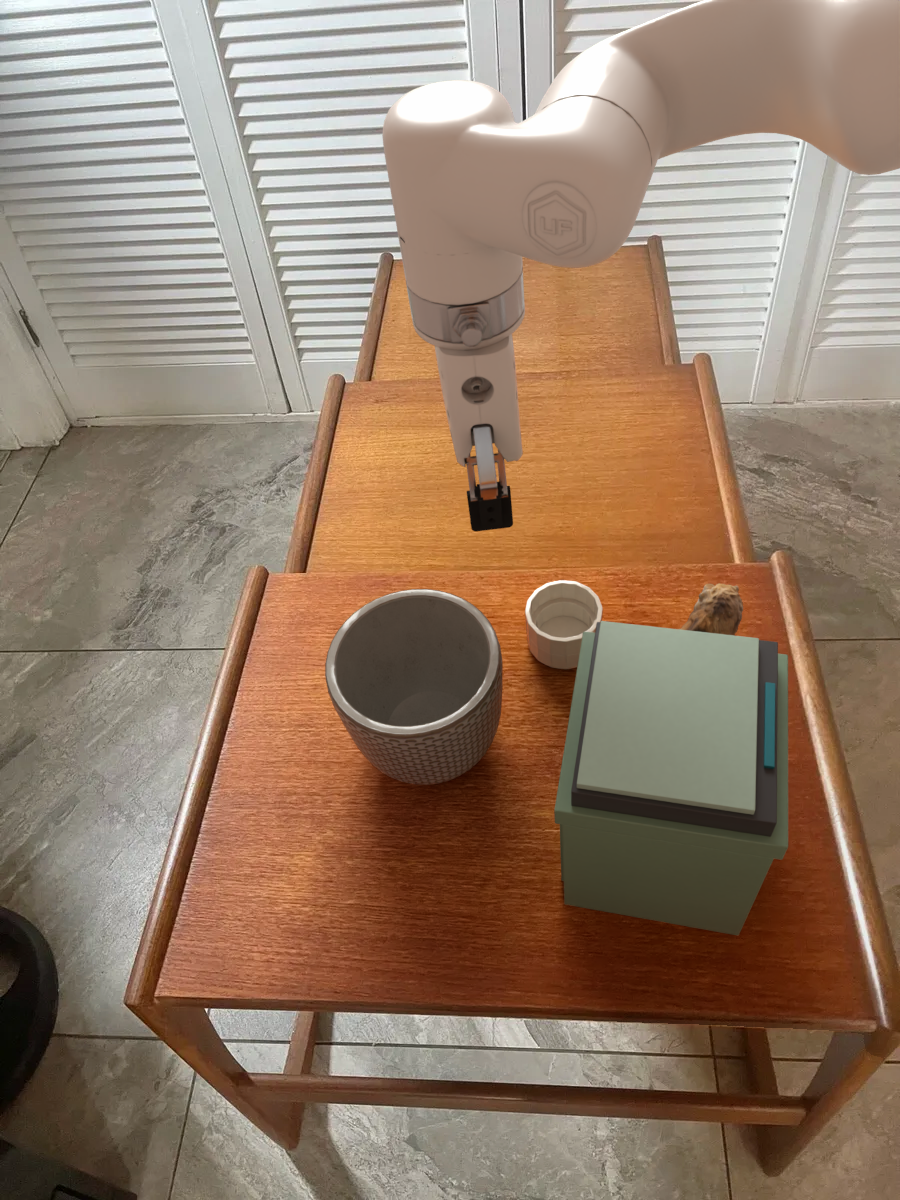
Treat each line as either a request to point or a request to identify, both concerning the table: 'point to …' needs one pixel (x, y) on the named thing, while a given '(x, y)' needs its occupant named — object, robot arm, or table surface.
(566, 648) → the bowl
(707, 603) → the lion figurine
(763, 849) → the stand
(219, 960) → the table surface
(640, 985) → the table surface
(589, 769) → the scale
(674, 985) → the table surface
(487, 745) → the planter
